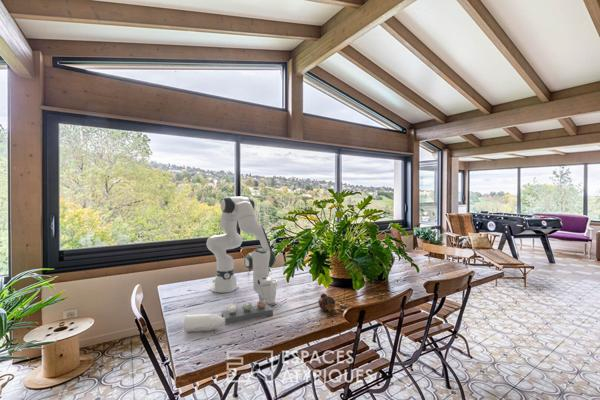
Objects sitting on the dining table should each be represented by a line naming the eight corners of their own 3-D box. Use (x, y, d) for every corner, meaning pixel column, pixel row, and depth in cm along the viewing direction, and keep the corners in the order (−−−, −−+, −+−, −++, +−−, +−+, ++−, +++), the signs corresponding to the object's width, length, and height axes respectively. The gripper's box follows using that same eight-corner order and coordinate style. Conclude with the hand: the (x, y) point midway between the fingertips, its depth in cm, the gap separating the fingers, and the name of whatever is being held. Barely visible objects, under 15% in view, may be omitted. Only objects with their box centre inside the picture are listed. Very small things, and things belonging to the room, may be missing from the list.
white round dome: (227, 315, 153) (227, 306, 153) (236, 313, 155) (235, 305, 155) (229, 318, 149) (229, 309, 149) (238, 316, 151) (238, 307, 151)
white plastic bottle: (223, 333, 137) (223, 317, 137) (183, 335, 135) (182, 318, 135) (226, 325, 145) (226, 310, 145) (188, 327, 143) (187, 311, 143)
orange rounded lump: (256, 310, 160) (256, 301, 160) (264, 308, 162) (263, 300, 162) (258, 313, 156) (258, 304, 156) (266, 311, 158) (266, 303, 158)
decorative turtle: (328, 303, 172) (328, 291, 172) (340, 315, 158) (341, 301, 157) (313, 305, 169) (314, 292, 168) (324, 317, 154) (325, 303, 154)
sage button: (242, 312, 157) (242, 303, 157) (250, 310, 159) (250, 302, 159) (244, 315, 153) (244, 306, 153) (252, 313, 155) (252, 305, 155)
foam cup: (260, 300, 179) (260, 279, 179) (274, 298, 182) (274, 278, 182) (264, 305, 170) (264, 284, 170) (279, 303, 174) (278, 282, 173)
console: (221, 317, 155) (221, 311, 155) (266, 308, 166) (266, 303, 166) (225, 324, 146) (225, 318, 146) (272, 314, 157) (272, 309, 157)
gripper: (250, 274, 167) (250, 297, 167) (261, 283, 149) (261, 309, 149) (260, 272, 170) (261, 295, 170) (272, 281, 151) (273, 307, 152)
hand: (261, 302), depth 159 cm, fingers closed, pressing on orange rounded lump
